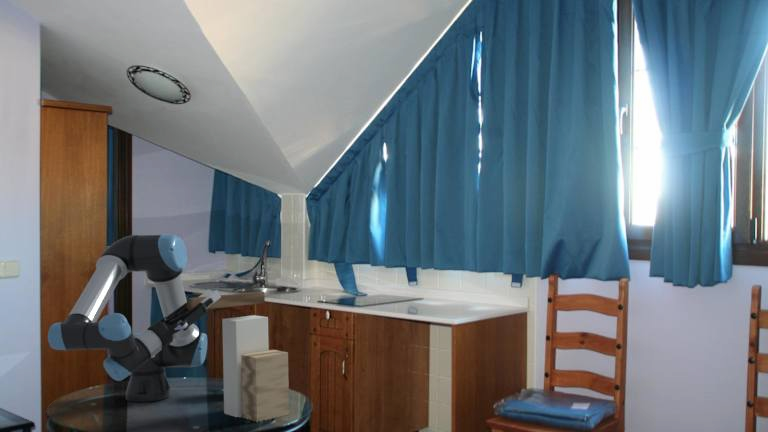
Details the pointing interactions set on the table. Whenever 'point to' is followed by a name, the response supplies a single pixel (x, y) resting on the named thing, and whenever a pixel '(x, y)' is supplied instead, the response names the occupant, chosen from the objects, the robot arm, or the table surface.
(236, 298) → the walnut bar
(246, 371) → the oak block
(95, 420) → the table surface
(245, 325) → the white block
